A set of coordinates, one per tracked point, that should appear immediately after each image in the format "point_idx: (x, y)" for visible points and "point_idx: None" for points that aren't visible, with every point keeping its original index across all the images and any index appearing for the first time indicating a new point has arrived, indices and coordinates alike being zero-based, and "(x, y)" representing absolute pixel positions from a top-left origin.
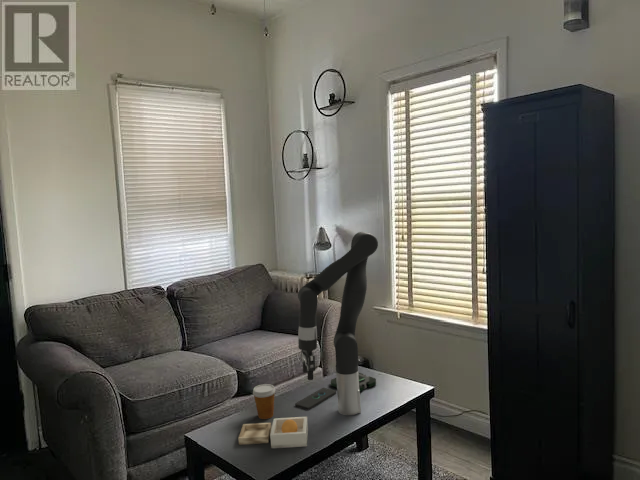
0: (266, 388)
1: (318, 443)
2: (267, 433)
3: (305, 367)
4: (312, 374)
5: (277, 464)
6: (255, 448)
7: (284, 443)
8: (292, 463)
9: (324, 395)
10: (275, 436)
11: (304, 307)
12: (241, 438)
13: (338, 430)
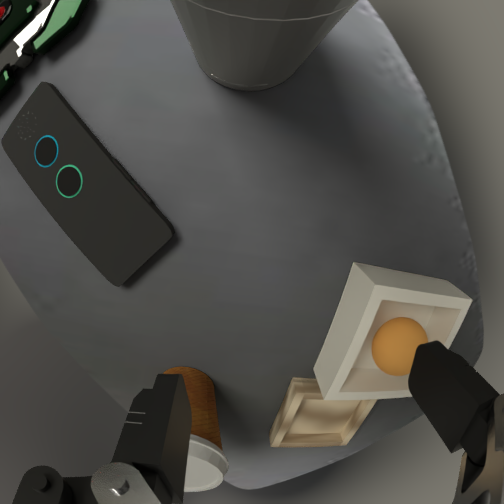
0: None
1: (450, 243)
2: None
3: (180, 447)
4: (481, 380)
5: (464, 350)
6: (380, 401)
7: None
8: (480, 319)
9: (64, 138)
10: None
11: None
12: (349, 439)
13: (408, 148)
